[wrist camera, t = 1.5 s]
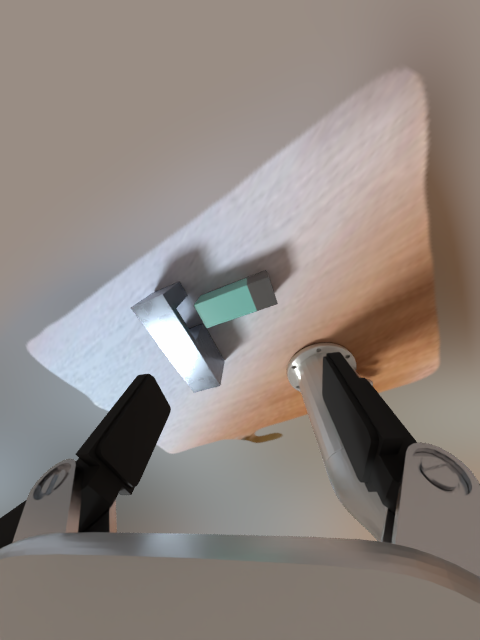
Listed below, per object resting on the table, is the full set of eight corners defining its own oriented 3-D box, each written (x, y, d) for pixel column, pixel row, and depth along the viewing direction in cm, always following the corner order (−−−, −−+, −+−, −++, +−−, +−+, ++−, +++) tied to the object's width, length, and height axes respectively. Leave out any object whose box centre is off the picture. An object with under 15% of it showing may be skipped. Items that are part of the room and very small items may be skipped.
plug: (265, 270, 26) (268, 276, 22) (273, 294, 27) (277, 303, 24) (200, 296, 28) (193, 305, 24) (211, 316, 30) (206, 328, 26)
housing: (179, 281, 27) (162, 294, 22) (224, 361, 34) (220, 385, 29) (152, 292, 28) (130, 307, 23) (202, 367, 35) (193, 392, 30)
